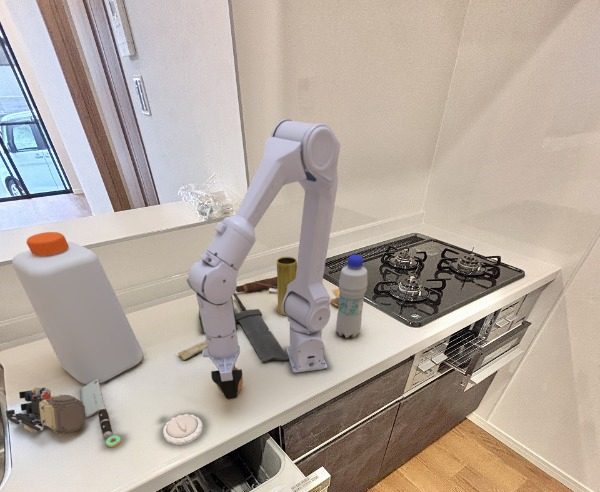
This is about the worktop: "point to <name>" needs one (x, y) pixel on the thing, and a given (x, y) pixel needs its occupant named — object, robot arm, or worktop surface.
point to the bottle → (351, 297)
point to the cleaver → (95, 405)
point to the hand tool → (258, 285)
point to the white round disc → (182, 429)
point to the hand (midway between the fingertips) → (230, 385)
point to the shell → (336, 293)
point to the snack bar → (193, 350)
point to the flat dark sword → (259, 334)
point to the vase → (285, 277)
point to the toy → (49, 411)
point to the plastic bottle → (77, 308)
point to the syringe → (271, 289)
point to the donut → (114, 444)
